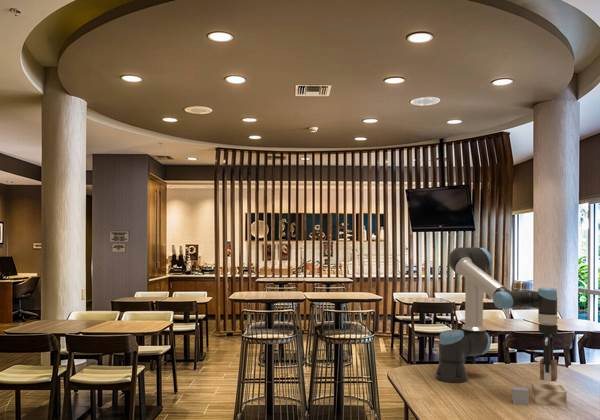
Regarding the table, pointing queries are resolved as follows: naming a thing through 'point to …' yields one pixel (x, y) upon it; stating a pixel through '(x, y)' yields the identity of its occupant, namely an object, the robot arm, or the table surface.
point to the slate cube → (520, 395)
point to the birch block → (549, 394)
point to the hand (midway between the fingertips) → (548, 378)
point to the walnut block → (553, 370)
